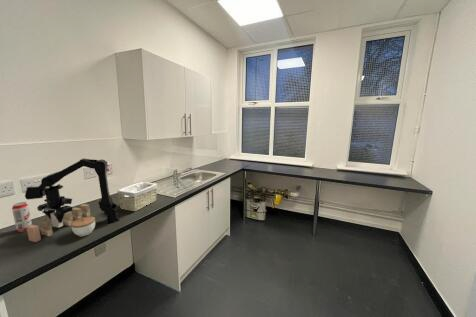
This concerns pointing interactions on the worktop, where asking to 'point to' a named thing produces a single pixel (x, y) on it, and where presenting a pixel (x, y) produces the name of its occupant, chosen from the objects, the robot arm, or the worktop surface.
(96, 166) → the robot arm
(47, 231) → the domino
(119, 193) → the storage basket
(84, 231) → the lidded jar
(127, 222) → the worktop surface
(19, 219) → the beer can
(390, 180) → the worktop surface
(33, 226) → the domino end
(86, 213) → the domino
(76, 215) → the domino
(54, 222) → the domino
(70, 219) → the domino
